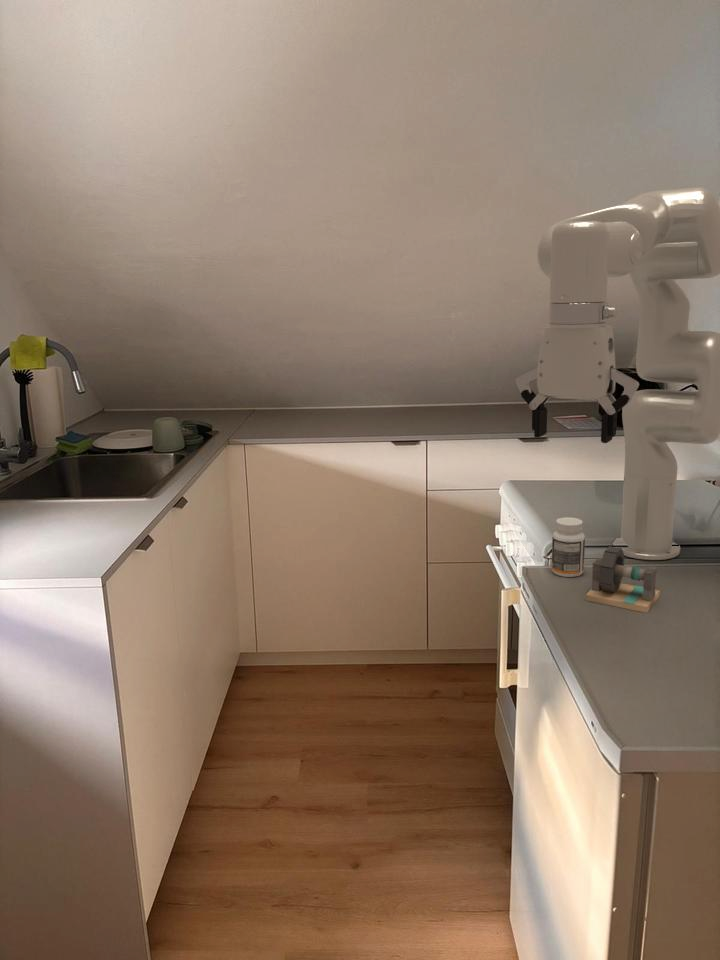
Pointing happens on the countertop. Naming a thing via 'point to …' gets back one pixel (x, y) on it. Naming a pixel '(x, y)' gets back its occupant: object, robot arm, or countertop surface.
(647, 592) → the rail
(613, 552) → the octagonal nut
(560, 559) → the pill bottle
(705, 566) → the countertop surface
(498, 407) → the countertop surface
